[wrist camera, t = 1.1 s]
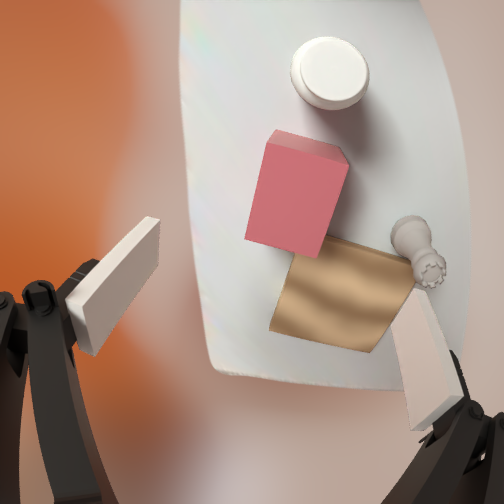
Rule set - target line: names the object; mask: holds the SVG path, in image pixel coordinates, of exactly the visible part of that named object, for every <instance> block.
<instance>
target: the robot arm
mask: <svg viewBox="0 0 504 504" xmlns="http://www.w3.org/2000/svg"><path fill="white" fill-rule="evenodd" d="M159 234H160V219H156V218H152V217H148V216H146V217H145V218H144V219H143V220H142V221H141V222H140V223H139V224H138V225H137V226H136V227H134V229H132V230H131V231H130V232H129V233H128V234H127V235H126V236H125V237H124V238H123V239H122V240H121V241H120V242H119V243H118V244H117V245H116V246H115V247H114V248H113V249H112V250H111V251H110V252H109V253H108V254H107V255H106V256H105V257H104V258H103V259H102V260H101V261H98V260H95V259H91V260H89V261H87V262H85V263H83V264H82V265H81V266H80V267H79V268H78V269H77V270H76V272H74V273H73V274H72V275H71V276H70V278H68V279H67V280H66V281H65V282H64V283H63V284H62V285H61V286H60V287H59V288H58V290H57V291H56V292H55V289H54V286H53V285H52V284H51V283H50V282H48V281H45V280H37V281H34V282H32V283H30V284H28V285H27V286H26V287H25V288H24V290H23V292H22V297H23V300H24V303H25V304H20V303H15V300H14V298H13V295H12V294H10V293H9V292H5V291H4V292H0V504H20V488H19V445H20V427H21V416H22V406H23V398H24V389H25V383H26V377H27V371H28V365H29V374H30V385H31V394H32V402H33V409H34V416H35V422H36V427H37V433H38V438H39V443H40V448H41V452H42V456H43V460H44V464H45V468H46V472H47V475H48V479H49V482H50V486H51V489H52V492H53V495H54V504H119V503H118V501H117V499H116V497H115V494H114V492H113V489H112V487H111V485H110V482H109V480H108V477H107V475H106V472H105V469H104V467H103V464H102V461H101V458H100V455H99V452H98V450H97V446H96V443H95V440H94V437H93V434H92V430H91V427H90V424H89V420H88V416H87V413H86V409H85V405H84V401H83V397H82V393H81V389H80V384H79V380H78V375H77V370H76V365H75V359H74V354H73V350H72V346H73V345H74V343H75V342H76V341H77V344H78V346H79V349H80V350H81V351H83V352H86V353H88V354H90V355H92V356H94V357H95V356H96V354H97V353H98V351H99V350H100V348H101V347H102V345H103V343H104V342H105V341H106V339H107V337H108V336H109V334H110V333H111V332H112V330H113V329H114V327H115V326H116V324H117V322H118V321H119V319H120V318H121V317H122V315H123V314H124V312H125V311H126V310H127V308H128V307H129V305H130V303H131V302H132V301H133V300H134V298H135V297H136V295H137V294H138V292H139V291H140V290H141V288H142V287H143V285H144V284H145V283H146V281H147V280H148V279H149V277H150V276H151V274H152V273H153V272H154V270H155V269H156V267H157V266H158V256H159ZM391 330H392V335H393V339H394V343H395V348H396V352H397V357H398V361H399V366H400V371H401V376H402V381H403V387H404V392H405V398H406V404H407V410H408V417H409V424H410V430H411V431H424V430H425V429H427V428H428V427H429V426H430V425H432V424H433V431H431V432H430V433H429V434H428V435H427V436H425V437H424V438H422V439H421V440H420V441H419V443H421V442H423V441H424V443H423V445H422V446H421V448H420V450H419V451H418V453H417V454H416V456H415V458H414V459H413V461H412V462H411V463H410V465H409V466H408V468H407V469H406V471H405V472H404V474H403V475H402V477H401V478H400V479H399V481H398V482H397V483H396V485H395V486H394V487H393V489H392V490H391V491H390V493H389V494H388V495H387V496H386V498H385V499H384V500H383V502H382V503H381V504H504V413H503V412H500V413H498V414H497V415H496V416H495V417H493V418H491V417H489V416H487V415H484V411H483V409H482V407H481V405H480V404H479V403H478V402H476V401H474V400H471V399H470V395H469V392H468V389H467V386H466V382H465V379H464V377H463V376H462V375H463V373H462V370H461V369H460V364H459V361H458V359H457V357H456V356H455V354H454V353H453V351H452V350H449V349H448V346H447V343H446V340H445V338H444V335H443V332H442V330H441V327H440V325H439V322H438V320H437V317H436V315H435V313H434V310H433V308H432V305H431V303H430V301H429V298H428V296H427V294H426V292H425V291H423V290H420V289H416V288H414V289H413V290H412V292H411V294H410V295H409V297H408V299H407V300H406V302H405V304H404V305H403V307H402V308H401V310H400V312H399V313H398V315H397V316H396V318H395V320H394V321H393V323H392V324H391ZM484 453H485V457H484V459H483V460H481V455H483V454H484Z"/></svg>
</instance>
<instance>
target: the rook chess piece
mask: <svg viewBox="0 0 504 504" xmlns="http://www.w3.org/2000/svg"><path fill="white" fill-rule="evenodd" d="M391 243H392V245H393V246H394V248H395V249H396V251H397V252H398V253H399V254H400V255H402V256H403V257H406V258H408V259H410V261H411V267H412V268H413V277H414V279H415V281H416V282H417V283H419V284H420V285H422V286H424V287H425V288H426V287H427V286H428V285H429V286H430V288H435V287H436V286H435V283H437V282H439V283H440V284H441V283H442V282H443V281H444V280H443V278H442V277H443V276H446V262H445V260H444V258H443V257H442V256H440V255H439V254H438V253H437V251H436V250H435V249H433V248H432V246H431V231H430V229H429V227H428V225H427V223H426V221H425V220H424V219H422V218H421V217H420V216H415V215H410V216H406V217H403V218H402V219H400V220H399V221H397V223H396V224H395V225H394V227H393V228H392V232H391Z"/></svg>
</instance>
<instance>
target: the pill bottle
mask: <svg viewBox="0 0 504 504" xmlns="http://www.w3.org/2000/svg"><path fill="white" fill-rule="evenodd" d="M290 75H291V81H292V83H293V86H294V88H295V89H296V91H297V93H298V94H299V95H300V96H301V97H302V98H303V99H304V100H305V101H306V102H308V103H309V104H311V105H313V106H315V107H317V108H320V109H325V110H340V109H344V108H347V107H350V106H351V105H353V104H355V103H356V102H358V101H359V100H360V99H361V98H362V96H363V95H364V94H365V92H366V90H367V87H368V84H369V69H368V65H367V62H366V60H365V58H364V57H363V55H362V54H361V53H360V51H359V50H358V49H357V48H356V47H354V46H353V45H352V44H350V43H349V42H347V41H345V40H342V39H339V38H335V37H319V38H315V39H312V40H310V41H308V42H306V43H305V44H303V45H302V46H301V47H300V48H299V49H298V50H297V51H296V53H295V54H294V57H293V59H292V62H291V66H290Z"/></svg>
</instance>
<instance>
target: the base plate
mask: <svg viewBox="0 0 504 504" xmlns="http://www.w3.org/2000/svg"><path fill="white" fill-rule="evenodd" d="M415 282H416V281H415V279H414V277H413V268H412V267H411V261H410V260H408V259H405V258H401V257H398V256H395V255H392V254H388V253H385V252H382V251H379V250H375V249H372V248H369V247H365V246H362V245H359V244H355V243H352V242H349V241H345V240H342V239H338V238H335V237H331V236H328V235H325V237H324V240H323V243H322V245H321V248H320V251H319V253H318V256H317V258H312V257H309V256H305V255H301V254H298V253H295V254H294V257H293V260H292V263H291V266H290V269H289V271H288V274H287V277H286V280H285V283H284V286H283V289H282V292H281V295H280V297H279V300H278V303H277V306H276V309H275V312H274V314H273V317H272V320H271V323H270V327H269V331H273V332H277V333H281V334H285V335H289V336H293V337H297V338H301V339H306V340H310V341H314V342H319V343H323V344H328V345H333V346H337V347H342V348H347V349H352V350H357V351H362V352H367V353H370V352H371V351H372V349H373V348H374V346H375V345H376V344H377V342H378V341H379V339H380V338H381V336H382V335H383V333H384V332H385V330H386V329H387V327H388V326H389V324H390V323H391V321H392V320H393V318H394V317H395V315H396V313H397V312H398V310H399V309H400V307H401V305H402V304H403V302H404V300H405V299H406V297H407V296H408V294H409V292H410V290H411V289H412V287H413V285H414V284H415Z"/></svg>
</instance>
